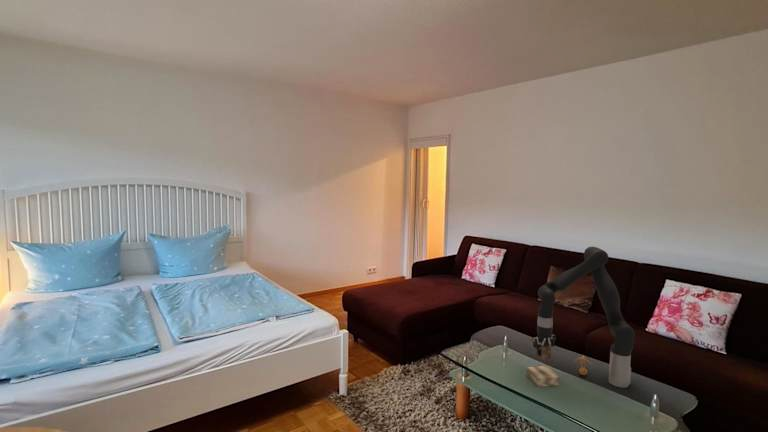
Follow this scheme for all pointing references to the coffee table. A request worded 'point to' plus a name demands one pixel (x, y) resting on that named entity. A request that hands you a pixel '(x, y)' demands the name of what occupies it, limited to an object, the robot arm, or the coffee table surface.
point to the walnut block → (545, 352)
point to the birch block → (542, 376)
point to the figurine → (583, 370)
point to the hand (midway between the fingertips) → (543, 354)
